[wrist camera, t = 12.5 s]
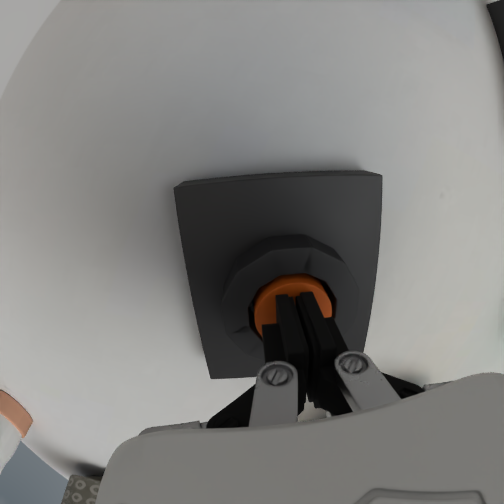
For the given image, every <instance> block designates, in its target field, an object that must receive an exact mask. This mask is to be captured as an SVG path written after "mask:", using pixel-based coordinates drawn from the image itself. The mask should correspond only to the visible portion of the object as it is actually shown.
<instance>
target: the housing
mask: <svg viewBox="0 0 504 504" xmlns="http://www.w3.org/2000/svg"><path fill="white" fill-rule="evenodd" d="M174 195H175V202H176V209H177V216H178V222H179V229H180V235H181V241H182V247H183V253H184V259H185V264H186V270H187V275H188V280H189V286H190V291H191V296H192V301H193V305H194V310H195V315H196V319H197V324H198V328H199V333H200V337H201V341H202V346H203V350H204V354H205V358H206V362H207V366H208V370H209V374H210V378H211V379H225V378H245V377H257V373H258V370H259V369H260V368H261V367H262V366H263V365H264V364H265V362H264V351H263V339H262V336H261V335H260V333H259V332H258V330H257V328H256V325H255V318H254V302H253V298H254V296H255V294H256V293H257V291H258V289H259V288H260V287H262V286H264V285H265V284H267V283H268V282H270V281H272V280H273V279H275V278H277V277H278V276H280V275H289V274H300V273H307V274H309V275H311V276H314V277H316V278H318V279H319V281H320V282H321V284H322V286H323V288H324V290H325V292H326V294H327V296H328V298H329V300H330V302H331V306H332V315H331V317H333V318H334V320H335V322H336V324H337V326H338V328H339V330H340V333H341V335H342V337H343V339H344V341H345V343H346V345H347V347H348V349H349V351H359V352H362V353H363V351H364V347H365V342H366V337H367V332H368V326H369V321H370V315H371V309H372V302H373V296H374V289H375V281H376V273H377V264H378V254H379V243H380V229H381V211H382V175H380V174H376V173H372V172H368V171H306V172H284V173H268V174H254V175H242V176H230V177H220V178H211V179H202V180H193V181H185V182H183V183H181V184H179V185H178V186H176V187H174Z"/></svg>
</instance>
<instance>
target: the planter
mask: <svg viewBox="0 0 504 504" xmlns="http://www.w3.org/2000/svg"><path fill="white" fill-rule="evenodd" d="M101 480H102V477H100V476H88V477H83V476H78V475H71V476H70V478H69V481H68V484H67V487H66V490H65V493H64V496H63V499H62V503H61V504H95V502H96V498H97V494H98V491H99V487H100V483H101Z"/></svg>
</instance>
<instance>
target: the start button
mask: <svg viewBox="0 0 504 504" xmlns="http://www.w3.org/2000/svg"><path fill="white" fill-rule="evenodd" d="M311 291H312V292H313V294H314V296H315V298H316V300H317V303H318V305H319V307H320V309H321V311H322V314H323V316H324V318H326V317H331V315H332V306H331V302H330V300H329V298H328V296H327V294H326V292H325V290H324V288H323V286H322V284H321V282H320V281H319V279H318V278H316V277H314V276H311V275H309V274H307V273H300V274H289V275H280V276H278V277H277V278H275V279H273V280H272V281H270V282H268V283H267V284H265V285H264V286H262V287H260V288H259V289H258V291H257V293H256V294H255V296H254V298H253V302H254V318H255V325H256V328H257V330H258V332H259V333H260V335H261V336H262V324H273V323H276V300H275V296H276V295H281V294H288V297H293V299H294V302H295V306H296V296H300V293H301V292H311Z"/></svg>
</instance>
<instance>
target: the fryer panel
mask: <svg viewBox="0 0 504 504" xmlns="http://www.w3.org/2000/svg"><path fill="white" fill-rule="evenodd" d="M487 7H488V10H489V12H490V15H491V18H492V20H493V23H494V26H495V29H496V33H497V36H498V39H499V43H500V46H501V50H502V54H503V58H504V0H499V1H496V2H493V3H490V4H487Z"/></svg>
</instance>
